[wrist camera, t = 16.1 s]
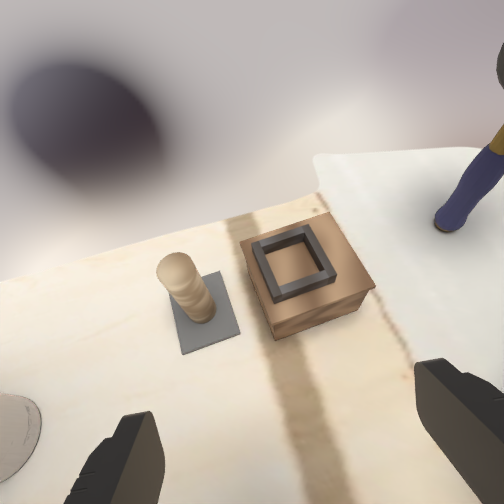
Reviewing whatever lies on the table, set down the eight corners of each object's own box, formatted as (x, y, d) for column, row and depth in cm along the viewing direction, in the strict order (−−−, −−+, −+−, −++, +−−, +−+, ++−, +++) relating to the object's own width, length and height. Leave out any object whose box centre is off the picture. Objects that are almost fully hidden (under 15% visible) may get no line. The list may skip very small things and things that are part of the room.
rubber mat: (183, 354, 41) (182, 353, 40) (169, 290, 46) (167, 288, 45) (240, 333, 41) (240, 332, 41) (220, 272, 47) (219, 270, 46)
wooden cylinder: (194, 329, 42) (163, 291, 32) (184, 305, 44) (151, 263, 34) (221, 314, 42) (198, 273, 32) (209, 291, 44) (185, 246, 34)
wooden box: (273, 343, 40) (271, 317, 32) (245, 271, 46) (237, 232, 38) (360, 311, 42) (380, 277, 33) (322, 244, 48) (331, 201, 39)
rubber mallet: (452, 192, 51) (623, -59, 25) (494, 221, 47) (742, -37, 22) (396, 228, 48) (524, -13, 23) (435, 262, 44) (640, 21, 19)
